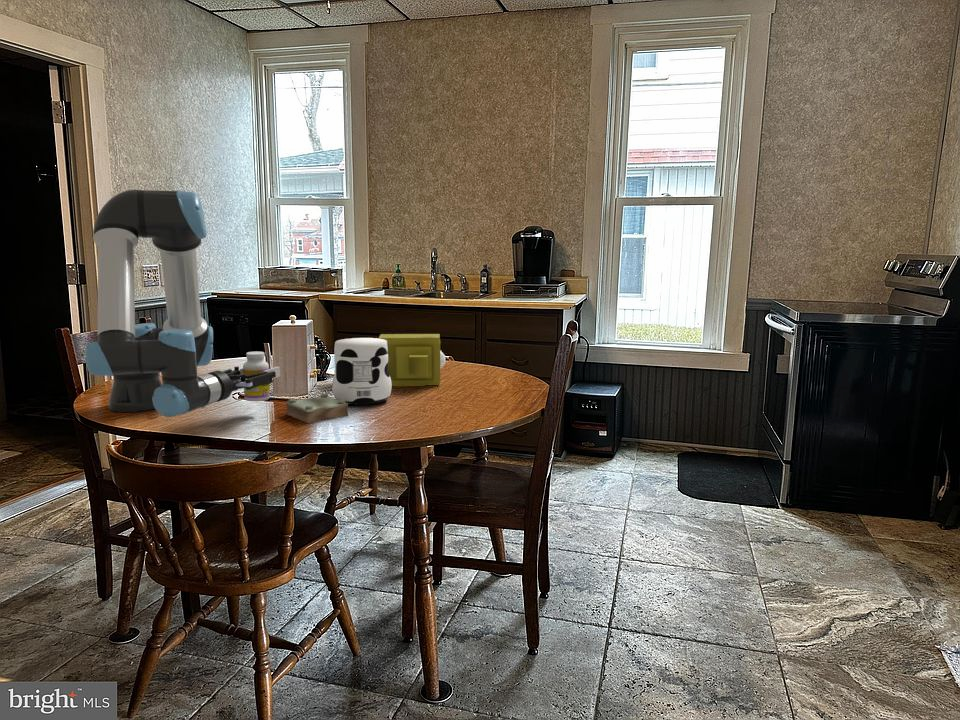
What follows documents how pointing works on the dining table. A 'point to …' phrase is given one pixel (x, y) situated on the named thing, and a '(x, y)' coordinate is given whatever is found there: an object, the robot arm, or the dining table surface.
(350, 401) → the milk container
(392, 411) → the dining table surface
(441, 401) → the dining table surface
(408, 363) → the olive green rectangular box
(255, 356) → the supplement bottle
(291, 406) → the base plate
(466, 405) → the dining table surface
